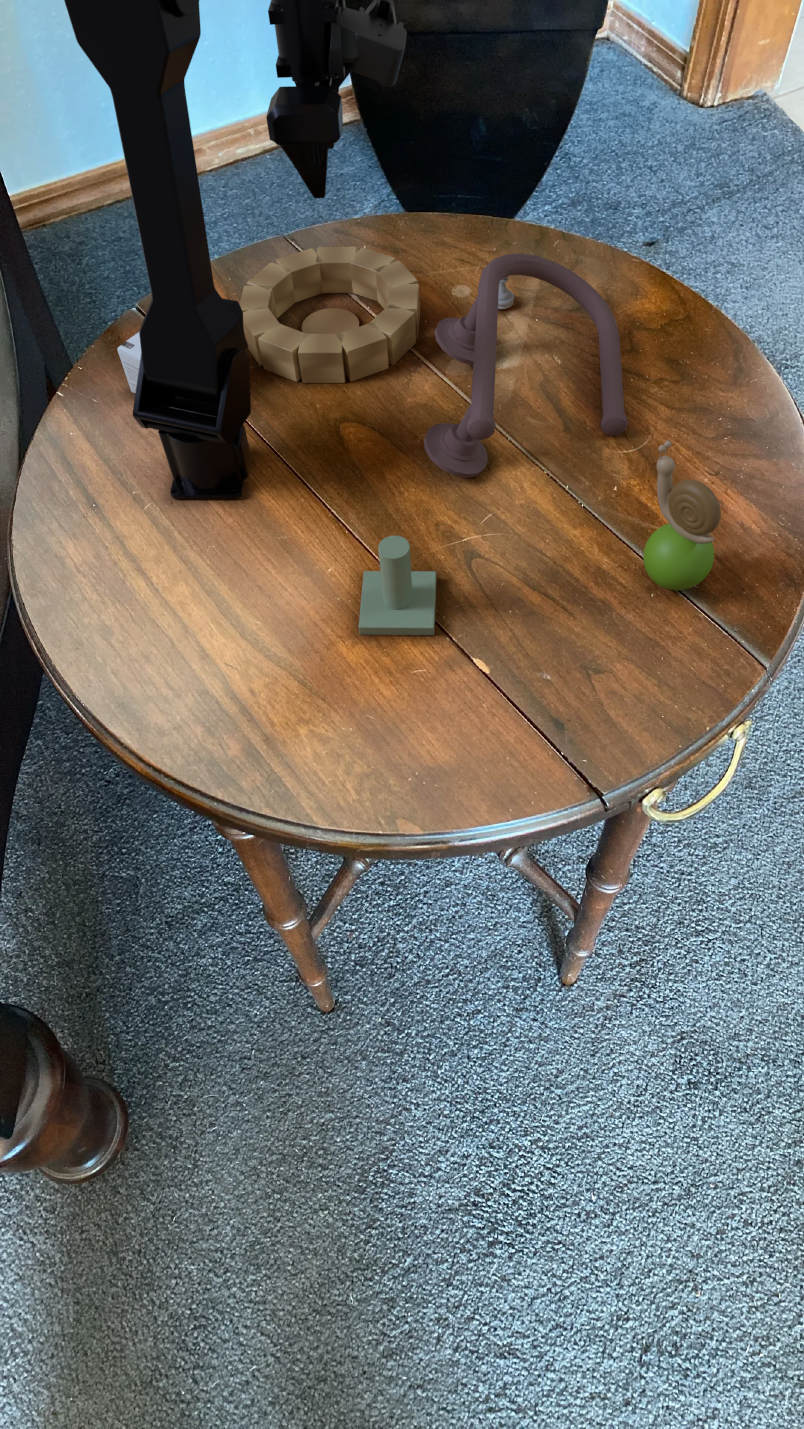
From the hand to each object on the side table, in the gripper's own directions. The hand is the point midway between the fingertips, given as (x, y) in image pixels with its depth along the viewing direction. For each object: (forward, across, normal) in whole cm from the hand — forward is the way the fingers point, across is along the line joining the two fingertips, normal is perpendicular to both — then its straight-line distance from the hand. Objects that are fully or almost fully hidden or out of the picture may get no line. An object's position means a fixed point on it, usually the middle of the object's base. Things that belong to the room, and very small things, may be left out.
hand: (324, 172), depth 95 cm
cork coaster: (+12, -8, 0) cm, 14 cm away
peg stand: (+12, -45, -9) cm, 47 cm away
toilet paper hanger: (+12, -18, -20) cm, 29 cm away
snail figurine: (+12, -42, -31) cm, 53 cm away
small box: (+12, -17, +14) cm, 25 cm away
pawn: (+12, -15, -32) cm, 37 cm away
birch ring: (+12, -8, 0) cm, 14 cm away
